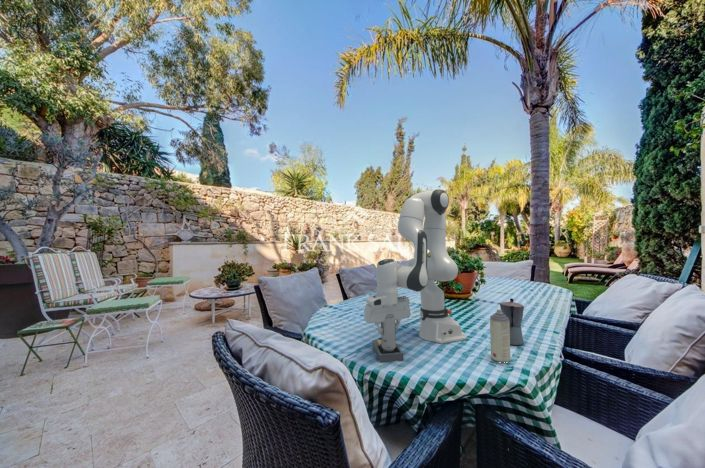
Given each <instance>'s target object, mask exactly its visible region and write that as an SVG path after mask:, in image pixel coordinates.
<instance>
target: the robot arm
mask: <svg viewBox="0 0 705 468" xmlns="http://www.w3.org/2000/svg"><path fill="white" fill-rule="evenodd" d="M449 205H450V198H449V195H448V193H447V192H446V190H443V189H433V190H432V189H431V190H424V191H422V192H417V193H412V194H409V195H408V196H407V198H406V199H405V201H404V203H403V205H402V207H401V210H400V213H399V217H398V222H397V231H398V233H399V236H401V237H402V238H403V239H405V240H406V241H409V242H411V243H412V244H413V247H414V253H413V254H414V255H413V258H411V259H410V260H409V261H408V264H407V265H402V264H399V263H397V262H396V260H395V259H393V258H386V259H382V260H381V259H380V260H379V261H378V262H377V264H376V268H375V269H376V270H375V281H376V286H377V287H376V293H374V294H372V295H370V296H368V297H366V298H365V302H366V304H365V307H364V310H363V311H364V315H363V317H364V318H363V319H364V321H365V322H366V323H367V324H368V325H370V324H374V325H375V326H376V328H377V332H378V333H381V332H383V331H382V330H383V328H381V322H384V321H385V318H386V315H390V314H393V316H394V317H395V330H396V331H397V330H399V329H400V328H399V326H400V324H401V323H402V319H410V317H411V307H410V298H409V297H408V296H407V295H402V296H398V288H402V289H405V290H410V291H414V292H417V293H418V292H419V294H420V311H419V313H420V314H419V315H420V327H419V332H418V337H419V338H420V339H422V340H423V341H424V340H425V341H429V342H433V343H434V342H435V343H437V344H442V345H443V344H447V343H452V342H457V341H464V340H467V339H468V338H467V335H466V333H465V332H463V331H462V328H461V325H460V323H459V322H458V321H456V320H455V319H454V318H452V316H450V315H452V314H453V311H452V309H449V308H446V307H445V293H444V291H443V290H442V288H440V287H439V286H438V284H436V282H435V281H437V282H450V281H454V280H455V279H456V278H457V277H458V274H459V267H458V265H457V263H456V262H455V261H454V260H453V259H452V258H451V256H450V255H449V252H448V249H447V246H446V241H447V240H446V238H447V237H446V236H447V235H446V234H447V218H446V211H447V209H448V207H449ZM428 251H429V254H430V256H429V257H428Z"/></svg>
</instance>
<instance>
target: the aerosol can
mask: <svg viewBox="0 0 705 468" xmlns="http://www.w3.org/2000/svg"><path fill="white" fill-rule="evenodd" d="M489 325H490V326H489V329H490V358H491V360H492V361H493V360H494V361H493V362H495V361H496V362H495V363H497V362H501V363H500V364H502V363H504V362H505V363H506V362H510V363H511V344H510V324H509V318H508V317H506V315H505V314H504V313H503V312H502V310H501V308H497V309H496V311H495V312H494V313H493V314H492V315H490V318H489Z"/></svg>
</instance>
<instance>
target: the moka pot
mask: <svg viewBox="0 0 705 468" xmlns="http://www.w3.org/2000/svg"><path fill="white" fill-rule="evenodd" d="M499 306H500V307H499V308H500V309H501V310H502V312H503V313H504V314H505V315H506V317H508V318H509V324H510V346H511V345H512V346H522V345H524V336H523V331H522V322H523V317H524V309H525V306H524V305H523V304H521V303H519V302H514V298H511V297H510V298H509V301H504V302H503V301H502V302H500V303H499Z"/></svg>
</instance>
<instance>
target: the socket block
mask: <svg viewBox="0 0 705 468" xmlns="http://www.w3.org/2000/svg"><path fill="white" fill-rule="evenodd" d="M371 342H372V348H373V350H374V353H375V355H376V357H377V359H378V363H389V362H390V363H391V362H402V361H404V352H403V351H402V349H401V347H400V346H399V345H398V343H397V342H396V348H395V350H393V351H385V350H383V348H382V341H381V339H373V340H372V341H371ZM388 352H389V353H388ZM390 352H391V353H390Z"/></svg>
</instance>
